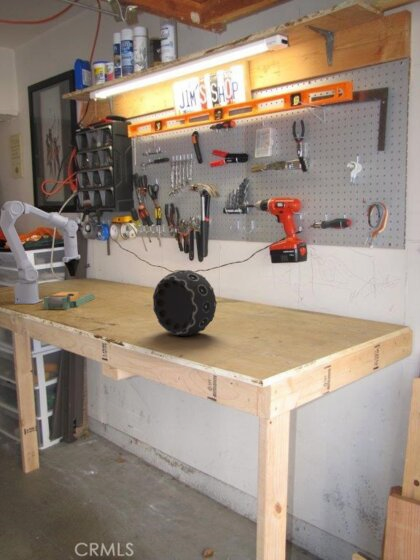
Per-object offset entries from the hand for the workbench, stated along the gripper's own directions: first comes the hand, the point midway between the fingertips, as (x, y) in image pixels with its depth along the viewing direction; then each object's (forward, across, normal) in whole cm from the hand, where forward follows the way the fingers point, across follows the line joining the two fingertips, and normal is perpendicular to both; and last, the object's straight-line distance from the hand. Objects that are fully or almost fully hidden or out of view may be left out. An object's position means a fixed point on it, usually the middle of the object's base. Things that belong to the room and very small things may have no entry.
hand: (72, 276), depth 232 cm
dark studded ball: (+10, -65, -66) cm, 93 cm away
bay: (+9, -17, -5) cm, 20 cm away
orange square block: (+10, -19, -5) cm, 22 cm away
